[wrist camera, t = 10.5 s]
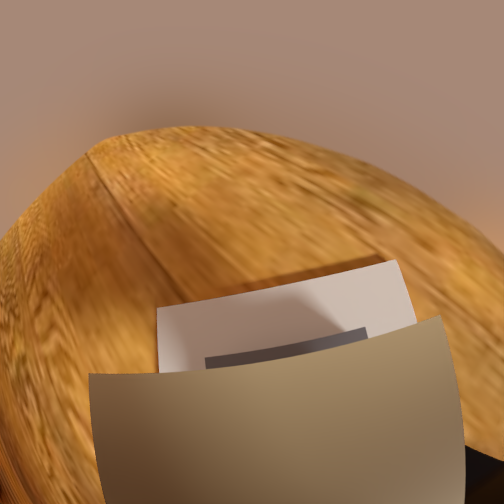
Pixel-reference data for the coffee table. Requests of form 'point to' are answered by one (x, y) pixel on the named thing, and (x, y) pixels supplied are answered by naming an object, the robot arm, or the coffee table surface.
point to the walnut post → (289, 428)
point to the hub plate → (284, 320)
